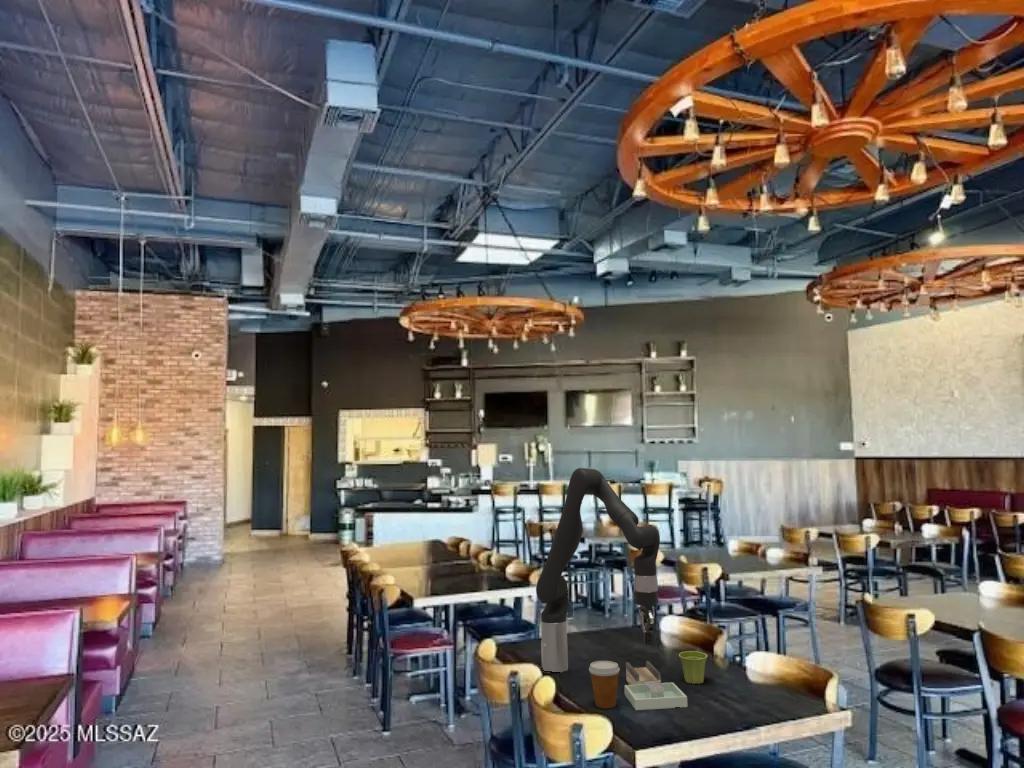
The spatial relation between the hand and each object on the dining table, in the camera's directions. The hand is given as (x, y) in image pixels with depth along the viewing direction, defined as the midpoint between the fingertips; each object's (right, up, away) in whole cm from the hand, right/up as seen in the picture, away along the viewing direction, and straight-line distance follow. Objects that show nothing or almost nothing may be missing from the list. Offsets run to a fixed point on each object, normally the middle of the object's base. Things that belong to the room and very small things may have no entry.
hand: (648, 643), depth 231 cm
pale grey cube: (+1, -13, -6) cm, 14 cm away
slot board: (0, -17, +7) cm, 18 cm away
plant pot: (+18, -17, +11) cm, 27 cm away
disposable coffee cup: (-15, -16, -9) cm, 23 cm away
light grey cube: (+1, -15, -4) cm, 16 cm away
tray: (+1, -15, -6) cm, 17 cm away
